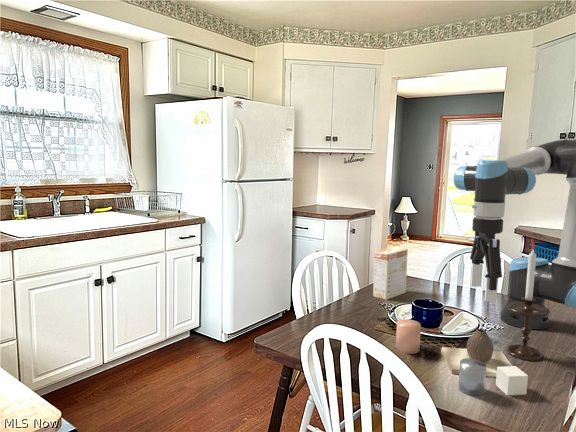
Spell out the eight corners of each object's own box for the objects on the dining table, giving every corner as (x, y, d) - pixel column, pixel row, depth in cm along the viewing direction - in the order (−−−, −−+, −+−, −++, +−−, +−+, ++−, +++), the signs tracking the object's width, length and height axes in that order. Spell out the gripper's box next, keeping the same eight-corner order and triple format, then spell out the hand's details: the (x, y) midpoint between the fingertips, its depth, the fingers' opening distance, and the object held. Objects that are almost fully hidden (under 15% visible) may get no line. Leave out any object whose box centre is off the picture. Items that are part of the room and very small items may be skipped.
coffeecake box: (392, 289, 193) (394, 246, 190) (406, 292, 187) (408, 248, 185) (372, 296, 182) (373, 250, 180) (386, 300, 177) (388, 253, 175)
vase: (461, 354, 126) (463, 325, 125) (484, 354, 126) (486, 325, 125) (473, 366, 119) (475, 335, 118) (497, 365, 120) (499, 335, 118)
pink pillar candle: (417, 344, 135) (419, 320, 134) (421, 354, 128) (422, 328, 127) (394, 342, 136) (395, 318, 135) (396, 352, 130) (398, 327, 128)
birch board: (501, 355, 128) (501, 351, 128) (518, 378, 115) (519, 374, 115) (441, 350, 131) (441, 347, 131) (451, 373, 117) (452, 369, 117)
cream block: (514, 384, 112) (515, 366, 112) (526, 394, 107) (528, 375, 107) (495, 385, 112) (497, 366, 111) (507, 395, 107) (508, 376, 106)
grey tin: (480, 385, 111) (482, 359, 111) (487, 397, 106) (489, 370, 105) (456, 383, 112) (457, 357, 111) (461, 395, 106) (463, 368, 106)
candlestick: (497, 345, 135) (506, 235, 130) (532, 346, 135) (542, 235, 130) (514, 362, 124) (524, 242, 119) (552, 363, 124) (564, 242, 119)
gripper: (462, 211, 130) (458, 280, 133) (487, 224, 106) (481, 307, 109) (488, 212, 129) (483, 281, 132) (520, 225, 105) (513, 309, 107)
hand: (482, 293), depth 120 cm, fingers open, 13 cm apart
